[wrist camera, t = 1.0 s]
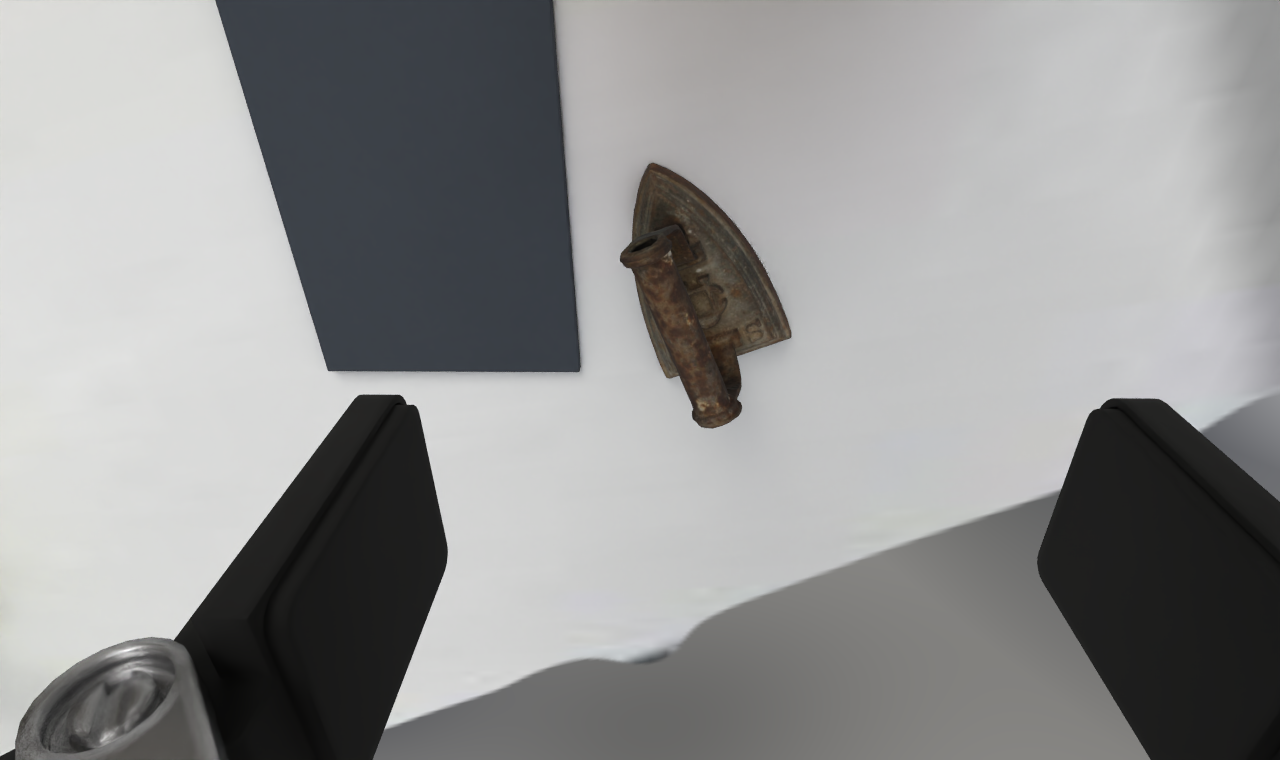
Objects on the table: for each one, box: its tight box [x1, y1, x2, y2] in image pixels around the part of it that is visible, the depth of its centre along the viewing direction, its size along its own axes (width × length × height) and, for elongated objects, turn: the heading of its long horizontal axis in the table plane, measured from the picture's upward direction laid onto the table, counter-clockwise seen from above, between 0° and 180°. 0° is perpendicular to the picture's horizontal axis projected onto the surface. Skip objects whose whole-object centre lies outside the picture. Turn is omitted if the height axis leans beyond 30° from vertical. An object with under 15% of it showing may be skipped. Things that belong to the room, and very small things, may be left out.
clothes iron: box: [620, 163, 792, 428], centre depth 32 cm, size 7×11×10 cm, turn 24°
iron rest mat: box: [215, 0, 581, 372], centre depth 33 cm, size 20×14×1 cm
